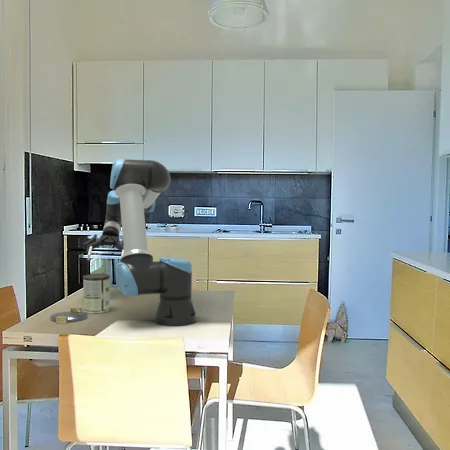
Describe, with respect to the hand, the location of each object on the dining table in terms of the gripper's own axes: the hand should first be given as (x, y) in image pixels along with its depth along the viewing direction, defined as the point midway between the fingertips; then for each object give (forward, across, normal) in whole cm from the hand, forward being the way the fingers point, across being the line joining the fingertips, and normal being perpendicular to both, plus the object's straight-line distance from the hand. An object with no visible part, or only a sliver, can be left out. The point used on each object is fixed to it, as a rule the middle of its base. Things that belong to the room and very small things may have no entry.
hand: (105, 259), depth 195 cm
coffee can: (+18, 0, -13) cm, 22 cm away
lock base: (+28, +9, -8) cm, 31 cm away
